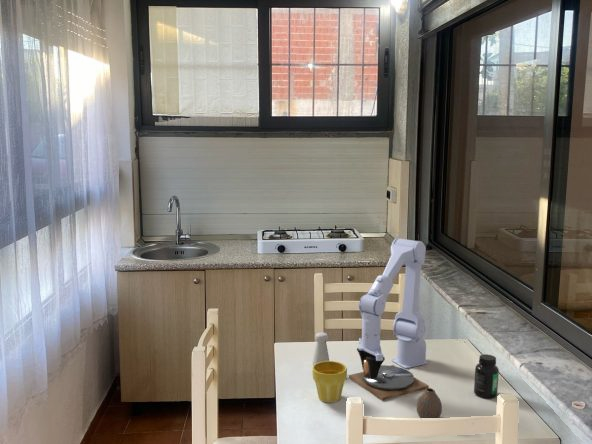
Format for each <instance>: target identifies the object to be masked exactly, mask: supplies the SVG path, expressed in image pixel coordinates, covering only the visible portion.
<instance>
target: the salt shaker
mask: <svg viewBox="0 0 592 444" xmlns="http://www.w3.org/2000/svg"><path fill="white" fill-rule="evenodd" d="M314 338H315V341H316V345H315V350H314V354H313V355H314V356H313V360H312V367H313V366H314V365H315V364H316V363H318V362H322V361H330V358H329V357H330V356H329V349H328V345H327V344H328V343H327V342H328V340H329V334H328V333H326V332H322V331H320V332H317V333H316V334H315V336H314Z"/></svg>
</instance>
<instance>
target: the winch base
mask: <svg viewBox="0 0 592 444" xmlns="http://www.w3.org/2000/svg"><path fill="white" fill-rule="evenodd" d="M390 366H395V367H397V366H396V365H394V364H392V365H390ZM348 379H349V380H350V381H352V382H354V383H355V384H357V385H358V386H360V387H361V388H363V389H364V390H365V391H367V392H369V394H371V395H373V396H374V397H376V398H377V399H378V400H380V401H381V402H383V401H386V400H390V399H394V398H398V397H402V396H407V395H409V394H414V393H417V392H421V391H425V390H426V389H427V388H430V385H428V384H426V382H423V381H422V380H420V379H418V378H416V377H414V382H413V384H412V386H410V387H408V388H406V389H402V390H383V389H378V388H375V387H372V386H370V385H368V384H367V383H365V382H364V380H363V371H361V372H356V373H351V374H349V375H348Z"/></svg>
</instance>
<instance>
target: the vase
mask: <svg viewBox="0 0 592 444" xmlns="http://www.w3.org/2000/svg"><path fill="white" fill-rule="evenodd" d="M442 412H443V405H442V402H441V399H440V397H439V395H438V394H437V393H436V391H435V389H434V388H431V387H429V388H427V389H425V390H424V392H422V394H421V395H420V396H419V397H418V399H417V402H416V413H417V415H418V417H419V419H421V418H439V419H440V417H441V416H442Z"/></svg>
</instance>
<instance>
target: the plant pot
mask: <svg viewBox="0 0 592 444" xmlns="http://www.w3.org/2000/svg"><path fill="white" fill-rule="evenodd" d="M347 378H348V368H347V365H346V364H344V363H342V362H340V361H335V360H329V361H322V362H318V363H316V364H315V365H314V366H313V365H312V379H313V381H314V382H315V386H316V392H317V397H318V399H319V400H320V401H321V402H323V403H329V404H330V403H331V404H332V403H335V402H336V403H337V402H339V401H340V400H341V398H342V394H343V390H344V389H343V388H344V385H345V381H346V380H347Z"/></svg>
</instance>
